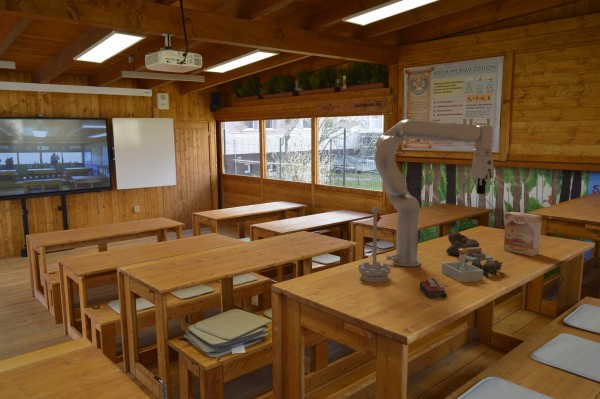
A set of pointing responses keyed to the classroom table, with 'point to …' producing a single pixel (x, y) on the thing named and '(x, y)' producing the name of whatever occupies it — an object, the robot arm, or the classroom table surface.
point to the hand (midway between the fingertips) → (480, 193)
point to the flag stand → (374, 258)
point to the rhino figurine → (491, 267)
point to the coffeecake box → (522, 233)
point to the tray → (469, 274)
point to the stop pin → (462, 259)
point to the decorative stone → (460, 243)
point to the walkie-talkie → (432, 288)
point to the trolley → (476, 256)
